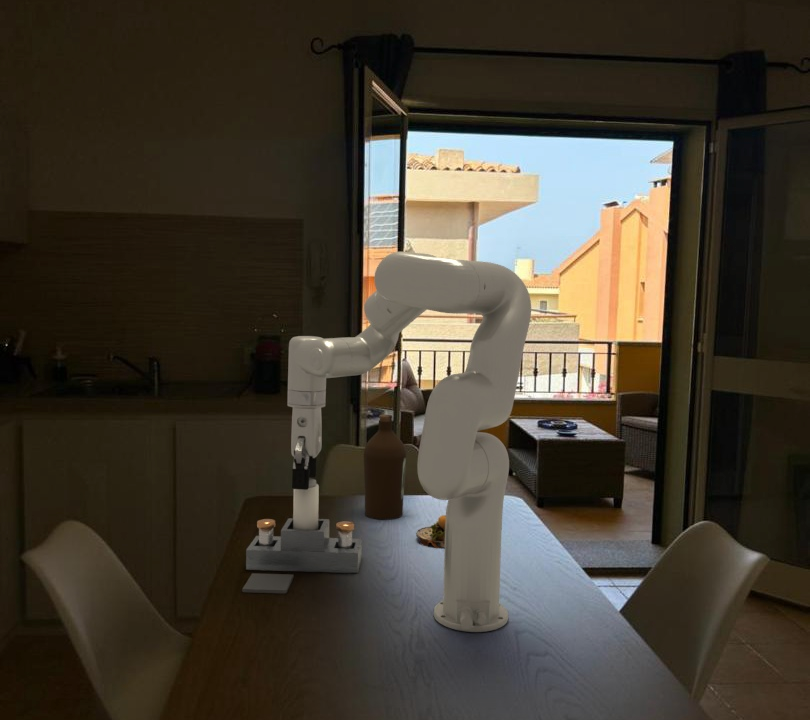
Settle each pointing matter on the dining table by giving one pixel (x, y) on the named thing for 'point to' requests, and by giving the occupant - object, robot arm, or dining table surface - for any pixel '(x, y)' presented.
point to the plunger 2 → (345, 534)
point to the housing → (304, 551)
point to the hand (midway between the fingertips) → (304, 482)
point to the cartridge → (306, 507)
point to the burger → (433, 533)
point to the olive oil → (384, 472)
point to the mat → (268, 583)
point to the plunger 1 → (266, 532)
